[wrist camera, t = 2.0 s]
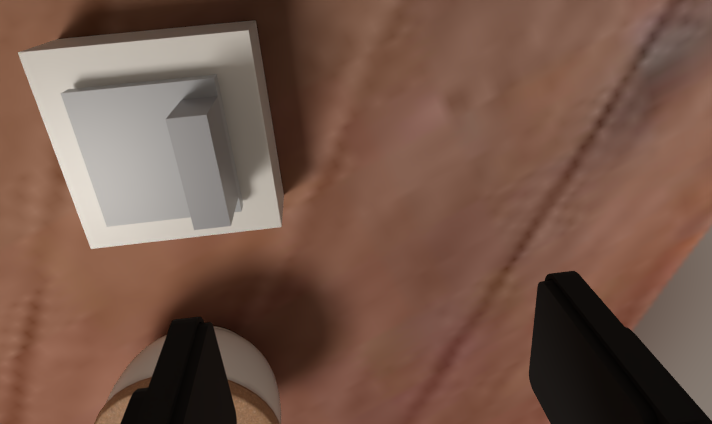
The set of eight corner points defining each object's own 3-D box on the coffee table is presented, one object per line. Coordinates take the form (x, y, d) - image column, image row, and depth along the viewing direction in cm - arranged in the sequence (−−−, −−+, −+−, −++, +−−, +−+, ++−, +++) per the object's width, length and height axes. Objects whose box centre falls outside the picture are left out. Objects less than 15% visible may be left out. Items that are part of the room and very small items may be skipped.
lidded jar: (302, 395, 38) (302, 518, 30) (164, 427, 38) (126, 558, 30) (260, 281, 33) (246, 390, 25) (102, 318, 33) (36, 438, 25)
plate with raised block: (216, 74, 23) (202, 94, 20) (243, 204, 26) (234, 241, 23) (68, 88, 23) (27, 112, 19) (112, 219, 26) (83, 259, 22)
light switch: (255, 19, 26) (248, 30, 23) (283, 195, 31) (281, 226, 27) (57, 39, 26) (17, 52, 22) (115, 214, 30) (90, 248, 27)
